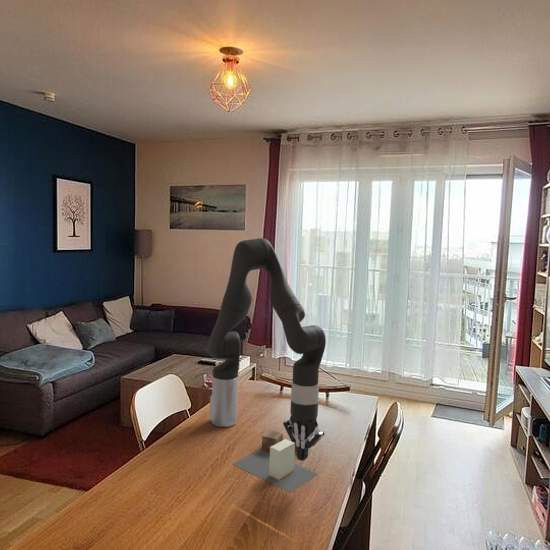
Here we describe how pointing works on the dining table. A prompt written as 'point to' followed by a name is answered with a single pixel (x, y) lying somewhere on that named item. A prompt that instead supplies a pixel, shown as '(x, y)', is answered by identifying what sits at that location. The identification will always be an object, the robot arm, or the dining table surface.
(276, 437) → the walnut cube
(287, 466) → the cream block
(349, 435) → the dining table surface
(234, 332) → the robot arm
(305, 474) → the mat
